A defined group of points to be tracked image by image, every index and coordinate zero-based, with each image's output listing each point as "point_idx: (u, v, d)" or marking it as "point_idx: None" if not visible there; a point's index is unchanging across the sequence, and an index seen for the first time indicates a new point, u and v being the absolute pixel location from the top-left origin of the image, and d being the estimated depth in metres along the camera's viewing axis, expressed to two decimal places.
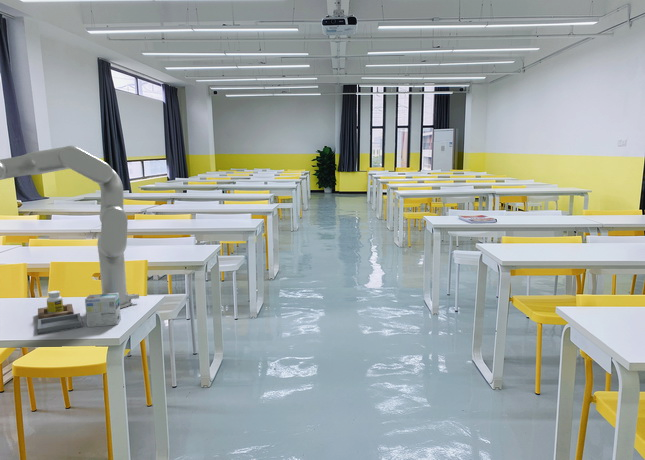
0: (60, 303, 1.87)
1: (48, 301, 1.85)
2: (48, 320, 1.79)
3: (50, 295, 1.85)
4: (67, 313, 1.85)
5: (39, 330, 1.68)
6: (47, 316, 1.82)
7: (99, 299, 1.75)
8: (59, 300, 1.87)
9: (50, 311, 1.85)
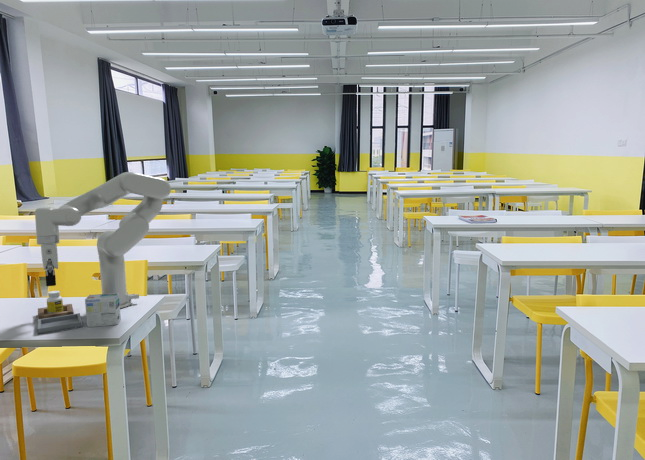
0: (60, 303, 1.87)
1: (48, 301, 1.85)
2: (48, 320, 1.79)
3: (50, 295, 1.85)
4: (67, 313, 1.85)
5: (39, 330, 1.68)
6: (47, 316, 1.82)
7: (99, 299, 1.75)
8: (59, 300, 1.87)
9: (50, 311, 1.85)
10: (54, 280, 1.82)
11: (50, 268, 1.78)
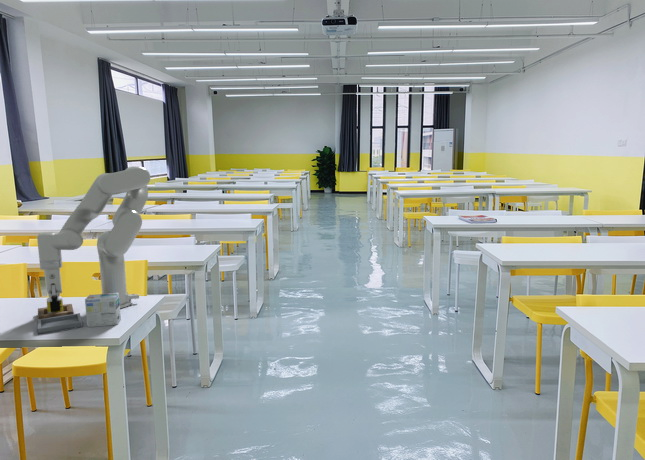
0: (60, 303, 1.87)
1: (48, 301, 1.85)
2: (48, 320, 1.79)
3: None
4: (67, 313, 1.85)
5: (39, 330, 1.68)
6: (47, 316, 1.82)
7: (99, 299, 1.75)
8: (59, 300, 1.87)
9: (50, 311, 1.85)
10: (58, 305, 1.85)
11: (54, 296, 1.81)
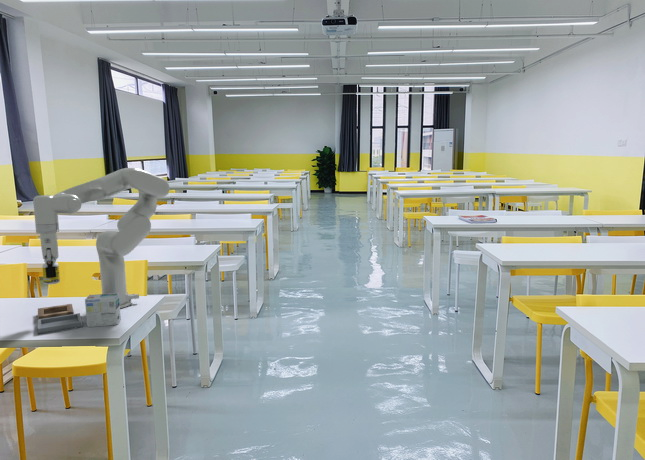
0: (56, 269, 1.80)
1: (44, 267, 1.79)
2: (48, 320, 1.79)
3: None
4: (67, 313, 1.85)
5: (39, 330, 1.68)
6: (47, 316, 1.82)
7: (99, 299, 1.75)
8: (55, 266, 1.80)
9: (45, 277, 1.79)
10: (54, 272, 1.79)
11: (49, 261, 1.75)
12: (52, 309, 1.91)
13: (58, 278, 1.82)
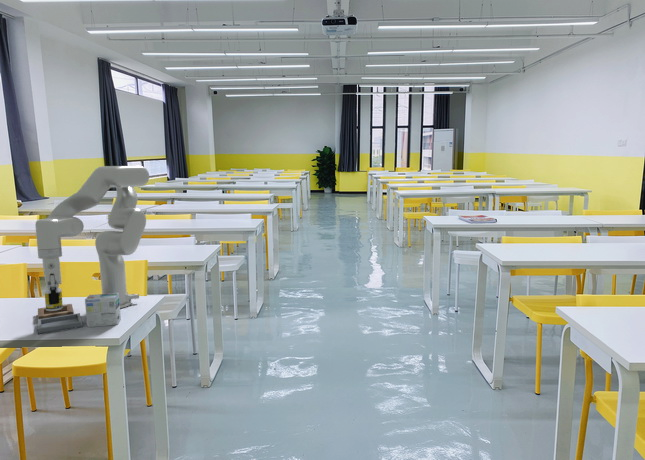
0: (59, 295, 1.74)
1: (46, 293, 1.72)
2: (48, 320, 1.79)
3: None
4: (67, 313, 1.85)
5: (39, 330, 1.68)
6: (47, 316, 1.82)
7: (99, 299, 1.75)
8: None
9: (48, 304, 1.72)
10: (57, 298, 1.72)
11: (53, 287, 1.68)
12: None
13: (61, 304, 1.75)
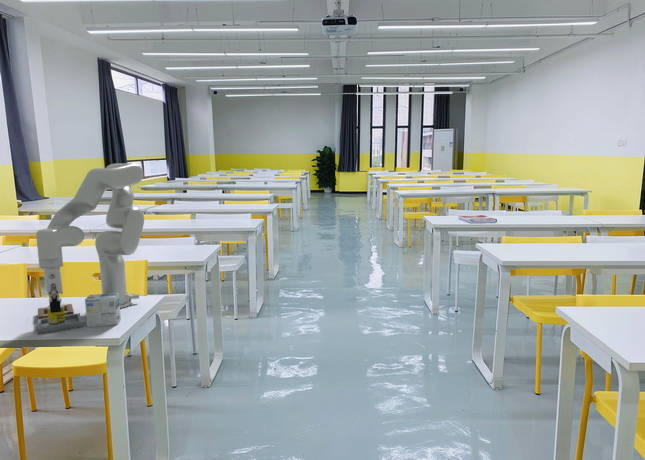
0: (62, 310, 1.75)
1: (49, 308, 1.73)
2: None
3: None
4: (67, 313, 1.85)
5: (39, 330, 1.68)
6: (47, 316, 1.82)
7: (99, 299, 1.75)
8: (61, 307, 1.75)
9: (51, 319, 1.74)
10: (59, 306, 1.71)
11: (54, 294, 1.67)
12: None
13: (64, 319, 1.77)
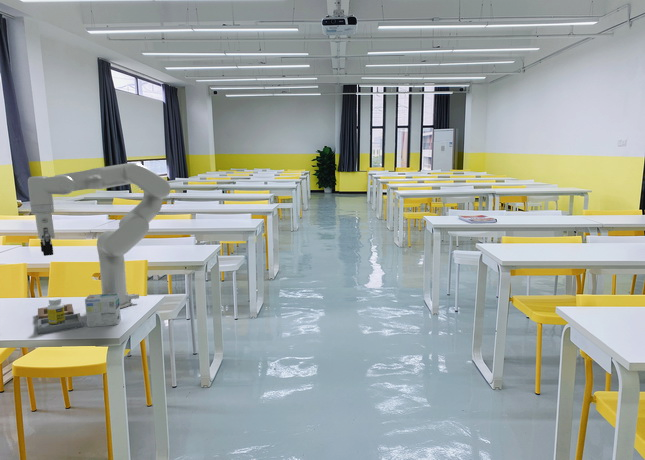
0: (61, 311, 1.75)
1: (49, 309, 1.73)
2: None
3: (51, 302, 1.74)
4: (67, 313, 1.85)
5: (39, 330, 1.68)
6: (47, 316, 1.82)
7: (99, 299, 1.75)
8: (60, 307, 1.75)
9: (51, 319, 1.74)
10: (51, 249, 1.80)
11: (47, 237, 1.76)
12: None
13: (64, 319, 1.77)
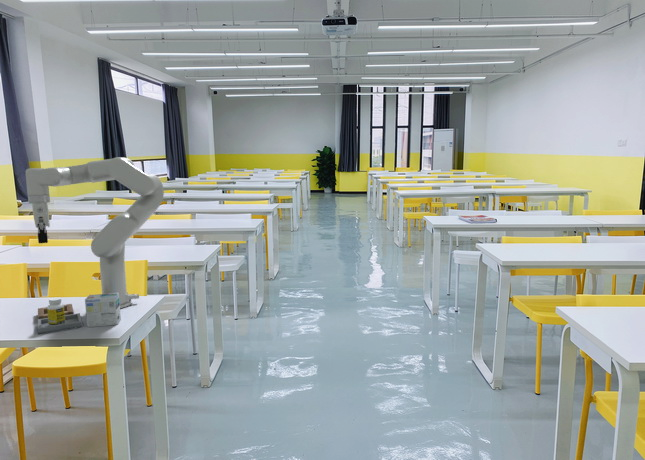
0: (62, 311, 1.75)
1: (49, 309, 1.73)
2: None
3: (51, 302, 1.74)
4: (67, 313, 1.85)
5: (39, 330, 1.68)
6: (47, 316, 1.82)
7: (99, 299, 1.75)
8: (61, 307, 1.75)
9: (51, 319, 1.74)
10: (46, 237, 1.90)
11: (41, 225, 1.86)
12: None
13: (64, 319, 1.77)
